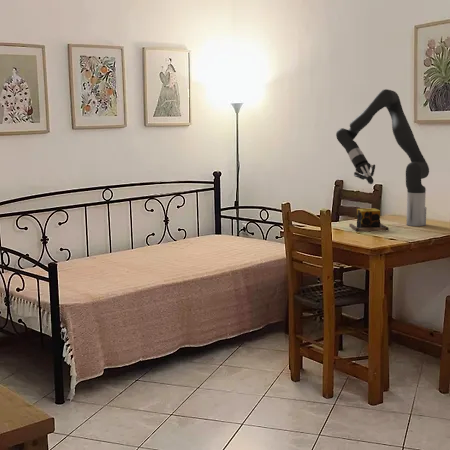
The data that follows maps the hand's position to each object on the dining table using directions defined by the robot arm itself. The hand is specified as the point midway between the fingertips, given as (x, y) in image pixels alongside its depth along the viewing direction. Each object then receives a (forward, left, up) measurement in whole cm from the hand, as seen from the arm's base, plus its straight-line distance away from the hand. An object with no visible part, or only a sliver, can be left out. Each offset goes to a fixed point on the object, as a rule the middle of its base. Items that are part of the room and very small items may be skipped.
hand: (371, 183), depth 372 cm
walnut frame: (+6, +17, -22) cm, 28 cm away
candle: (+6, +18, -22) cm, 29 cm away
